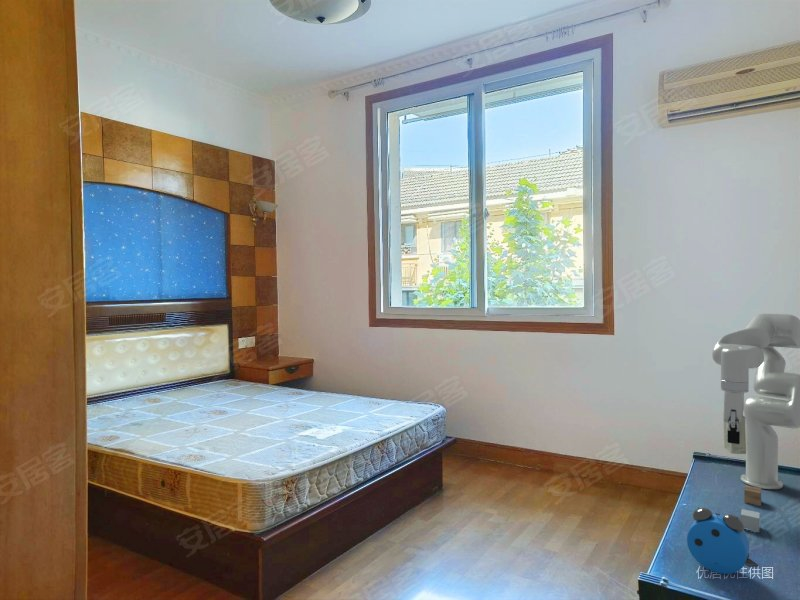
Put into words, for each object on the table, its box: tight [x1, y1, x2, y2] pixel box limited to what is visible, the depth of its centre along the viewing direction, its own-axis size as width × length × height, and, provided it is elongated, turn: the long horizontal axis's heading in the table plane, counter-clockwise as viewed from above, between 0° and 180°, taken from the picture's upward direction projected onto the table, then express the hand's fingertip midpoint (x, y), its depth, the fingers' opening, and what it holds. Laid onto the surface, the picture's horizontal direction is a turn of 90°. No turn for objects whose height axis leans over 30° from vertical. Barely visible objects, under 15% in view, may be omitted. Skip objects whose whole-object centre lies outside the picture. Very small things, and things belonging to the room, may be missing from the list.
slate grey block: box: [740, 508, 761, 533], centre depth 152 cm, size 4×4×4 cm
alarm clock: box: [686, 507, 750, 575], centre depth 131 cm, size 13×6×15 cm, turn 49°
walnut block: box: [743, 484, 762, 507], centre depth 170 cm, size 4×4×4 cm
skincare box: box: [722, 411, 746, 455], centre depth 165 cm, size 6×4×12 cm
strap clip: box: [744, 553, 759, 568], centre depth 136 cm, size 8×3×4 cm, turn 179°
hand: (734, 439), depth 165 cm, fingers closed on skincare box, 7 cm apart
